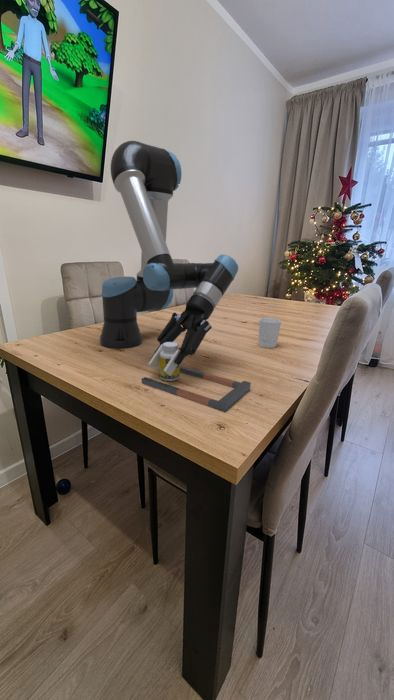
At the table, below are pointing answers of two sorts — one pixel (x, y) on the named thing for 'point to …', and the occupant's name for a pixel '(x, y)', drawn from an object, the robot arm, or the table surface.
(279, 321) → the white cup
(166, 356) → the supplement bottle
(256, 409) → the table surface
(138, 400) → the table surface
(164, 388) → the grey brown flat u-shape
